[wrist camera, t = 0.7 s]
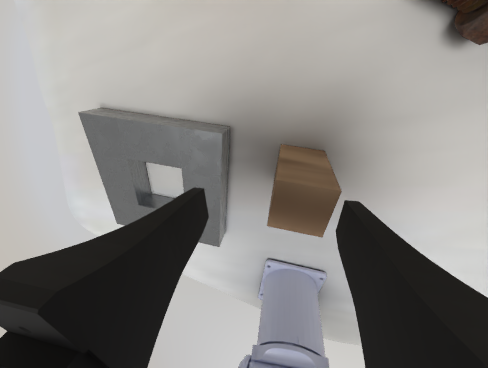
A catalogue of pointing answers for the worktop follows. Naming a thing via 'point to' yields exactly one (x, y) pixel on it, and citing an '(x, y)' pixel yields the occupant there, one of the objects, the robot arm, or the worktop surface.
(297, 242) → the worktop surface
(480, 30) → the dark brown dumbbell shape
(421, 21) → the worktop surface
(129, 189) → the socket plate
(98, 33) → the worktop surface
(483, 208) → the worktop surface
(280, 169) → the block
